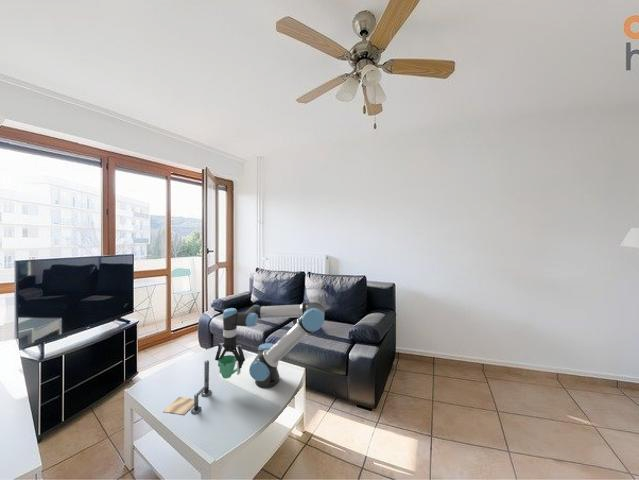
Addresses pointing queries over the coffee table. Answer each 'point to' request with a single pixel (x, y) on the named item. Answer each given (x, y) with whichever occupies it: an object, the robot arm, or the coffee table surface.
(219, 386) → the coffee table surface
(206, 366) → the metal wall bracket
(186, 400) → the coaster
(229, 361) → the mug
